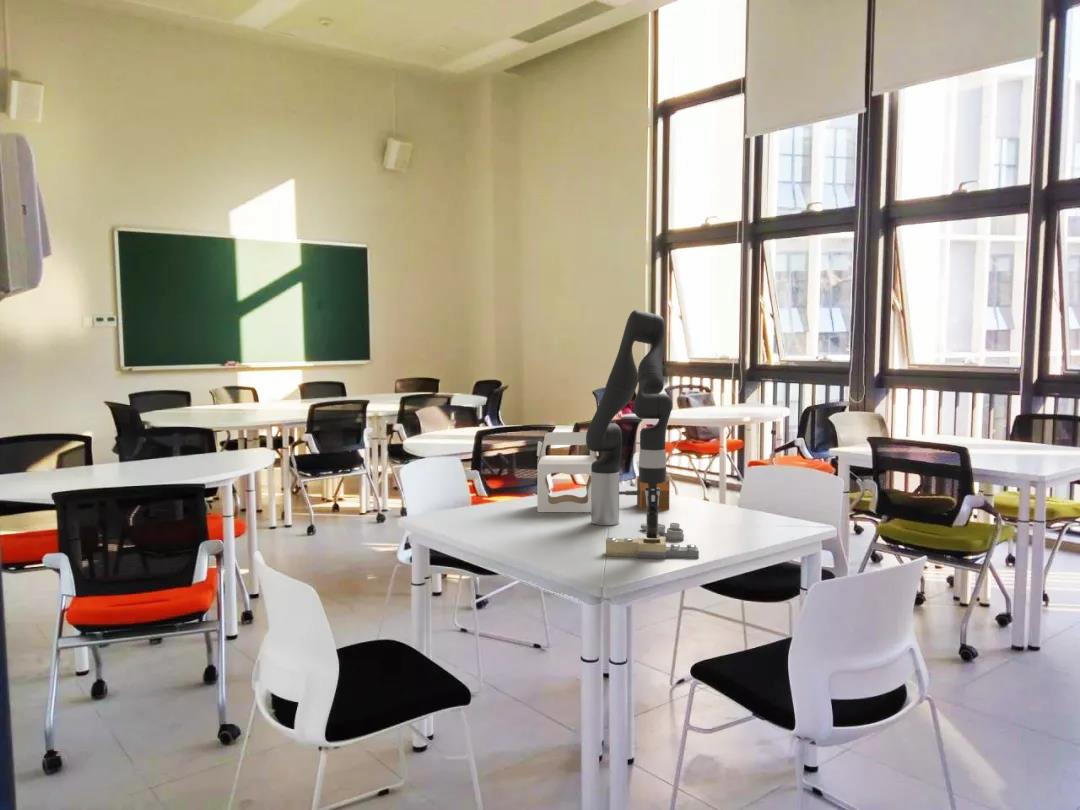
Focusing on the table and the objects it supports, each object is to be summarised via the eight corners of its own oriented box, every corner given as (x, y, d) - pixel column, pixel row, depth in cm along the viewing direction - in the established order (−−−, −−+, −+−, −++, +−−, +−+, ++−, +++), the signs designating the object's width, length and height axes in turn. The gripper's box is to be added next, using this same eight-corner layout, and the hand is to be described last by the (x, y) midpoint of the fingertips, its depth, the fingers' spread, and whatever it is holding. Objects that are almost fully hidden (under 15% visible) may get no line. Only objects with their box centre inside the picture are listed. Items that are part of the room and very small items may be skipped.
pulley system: (689, 533, 258) (642, 527, 262) (690, 519, 257) (643, 513, 261) (677, 557, 232) (626, 550, 236) (678, 541, 231) (627, 535, 235)
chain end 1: (606, 550, 232) (606, 535, 231) (664, 552, 230) (664, 536, 230) (605, 557, 224) (605, 541, 224) (666, 559, 222) (666, 543, 222)
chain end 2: (637, 551, 231) (637, 541, 230) (696, 552, 229) (696, 542, 229) (638, 558, 223) (638, 547, 223) (699, 559, 221) (699, 549, 221)
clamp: (610, 504, 300) (610, 466, 299) (663, 504, 301) (664, 466, 300) (614, 510, 289) (614, 471, 288) (669, 510, 290) (669, 470, 289)
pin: (644, 535, 228) (645, 489, 227) (659, 535, 228) (659, 489, 227) (645, 538, 224) (645, 491, 223) (659, 538, 224) (660, 491, 223)
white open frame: (597, 505, 298) (597, 430, 296) (599, 513, 285) (599, 434, 283) (537, 505, 299) (537, 430, 297) (536, 513, 285) (536, 434, 284)
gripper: (667, 468, 217) (667, 532, 219) (664, 461, 231) (664, 521, 233) (639, 468, 218) (639, 531, 219) (638, 461, 232) (638, 520, 233)
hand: (652, 525), depth 226 cm, fingers closed on pin, 3 cm apart
